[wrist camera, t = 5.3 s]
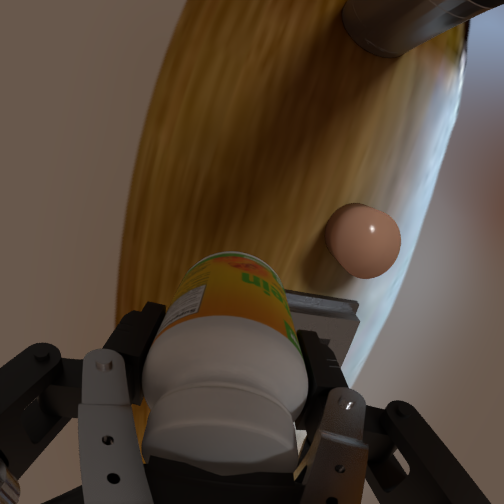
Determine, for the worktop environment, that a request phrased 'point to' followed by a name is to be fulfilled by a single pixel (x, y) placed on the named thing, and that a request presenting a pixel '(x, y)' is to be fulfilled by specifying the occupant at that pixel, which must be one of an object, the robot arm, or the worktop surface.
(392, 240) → the brown egg
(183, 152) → the worktop surface
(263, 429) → the supplement bottle
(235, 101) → the worktop surface
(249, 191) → the worktop surface
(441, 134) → the worktop surface
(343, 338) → the collar socket
